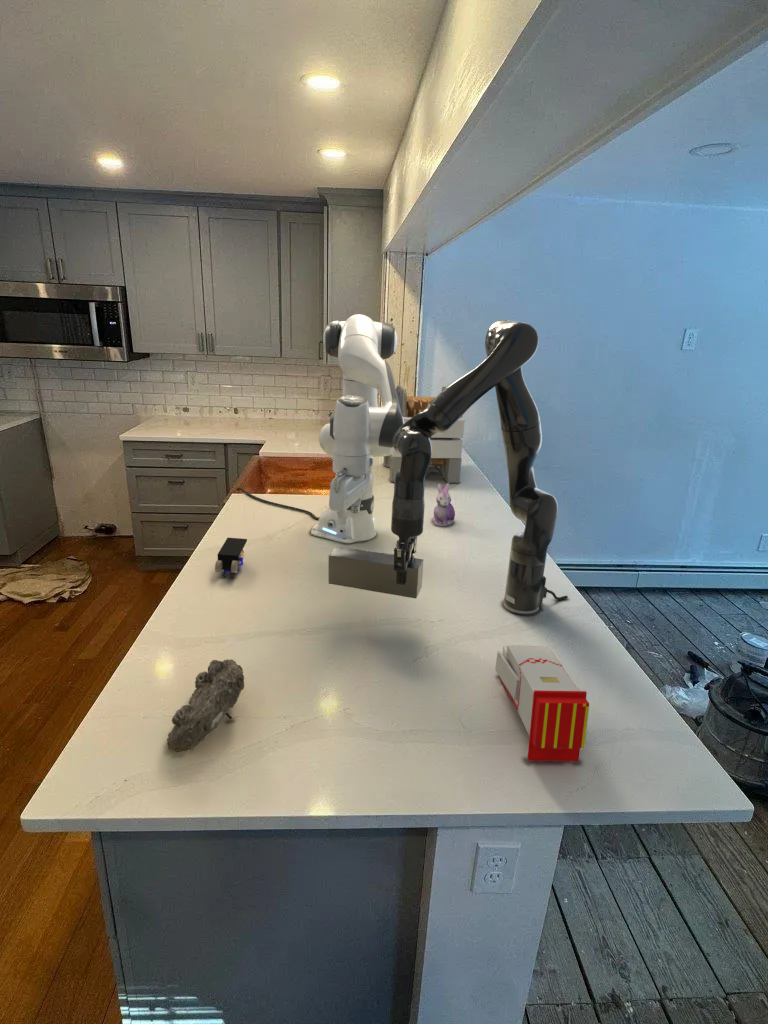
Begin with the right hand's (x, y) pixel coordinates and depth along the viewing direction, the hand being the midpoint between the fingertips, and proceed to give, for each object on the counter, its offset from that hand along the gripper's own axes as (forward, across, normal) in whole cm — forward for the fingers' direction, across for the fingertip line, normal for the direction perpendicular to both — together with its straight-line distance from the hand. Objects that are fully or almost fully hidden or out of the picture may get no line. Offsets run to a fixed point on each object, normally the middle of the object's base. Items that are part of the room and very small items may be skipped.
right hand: (404, 578), depth 138 cm
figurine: (+13, +76, +3) cm, 78 cm away
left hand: (-12, +4, +16) cm, 20 cm away
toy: (+13, -23, -33) cm, 42 cm away
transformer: (+13, +139, +26) cm, 142 cm away
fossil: (+13, -45, +26) cm, 53 cm away
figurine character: (+13, +13, +55) cm, 58 cm away
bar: (+3, 0, +7) cm, 8 cm away
